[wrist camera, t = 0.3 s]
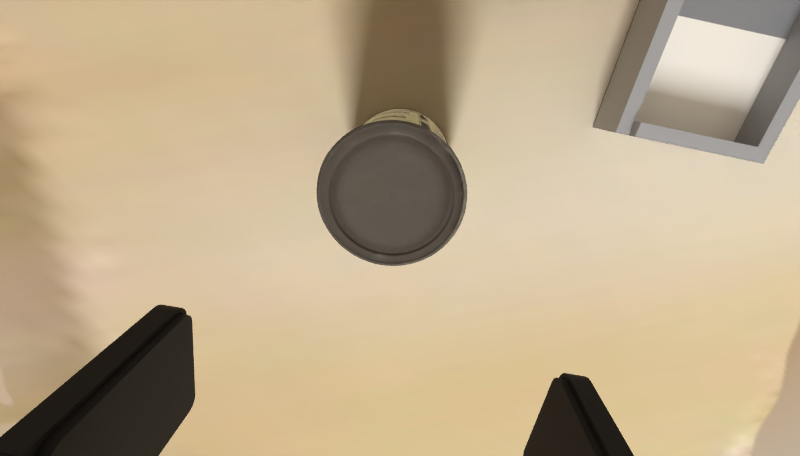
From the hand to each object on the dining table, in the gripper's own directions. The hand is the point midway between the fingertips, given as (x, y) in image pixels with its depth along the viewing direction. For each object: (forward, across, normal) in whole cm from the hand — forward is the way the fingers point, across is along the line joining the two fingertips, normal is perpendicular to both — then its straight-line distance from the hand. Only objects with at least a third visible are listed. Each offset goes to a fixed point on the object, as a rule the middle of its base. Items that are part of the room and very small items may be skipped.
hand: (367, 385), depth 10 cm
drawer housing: (+31, -24, -17) cm, 43 cm away
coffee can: (+31, +1, 0) cm, 31 cm away
